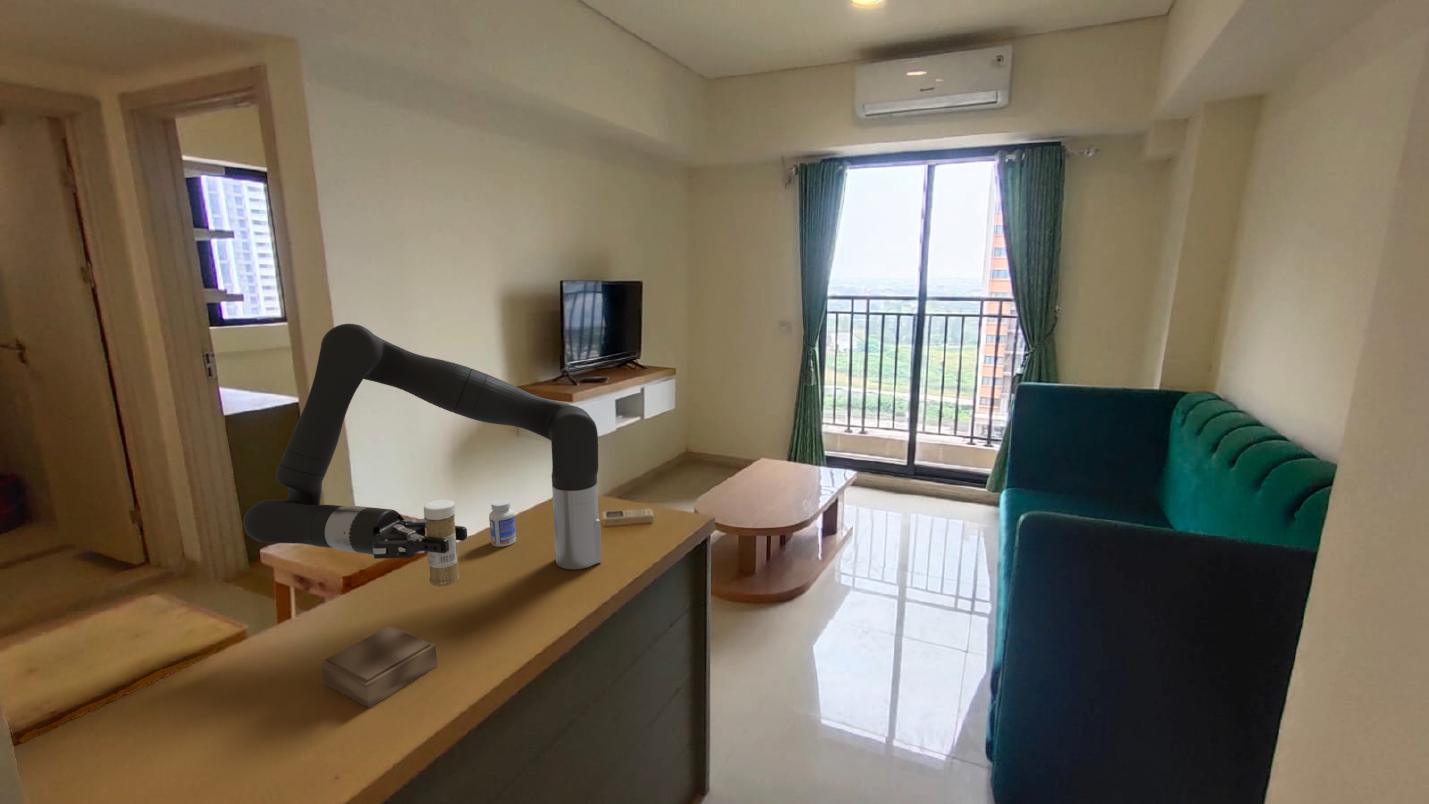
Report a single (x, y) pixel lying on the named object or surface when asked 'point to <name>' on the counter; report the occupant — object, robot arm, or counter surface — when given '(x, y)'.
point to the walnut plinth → (379, 665)
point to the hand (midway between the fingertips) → (456, 539)
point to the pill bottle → (502, 524)
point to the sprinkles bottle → (442, 527)
